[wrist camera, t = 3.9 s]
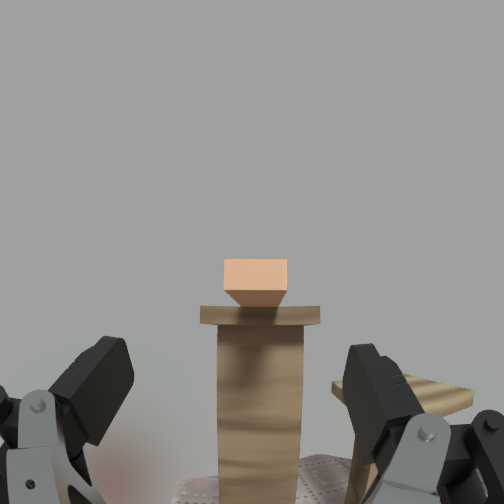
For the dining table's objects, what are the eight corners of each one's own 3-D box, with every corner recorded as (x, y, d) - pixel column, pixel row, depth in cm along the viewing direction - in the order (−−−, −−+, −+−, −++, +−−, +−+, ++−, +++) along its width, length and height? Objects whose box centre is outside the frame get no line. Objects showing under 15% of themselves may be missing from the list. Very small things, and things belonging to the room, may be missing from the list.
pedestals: (415, 562, 8) (475, 290, 18) (206, 588, 10) (187, 300, 19) (374, 504, 26) (394, 309, 35) (226, 515, 27) (224, 314, 36)
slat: (287, 290, 13) (287, 258, 13) (223, 289, 13) (224, 259, 13) (272, 316, 40) (272, 306, 40) (252, 316, 40) (252, 306, 40)
